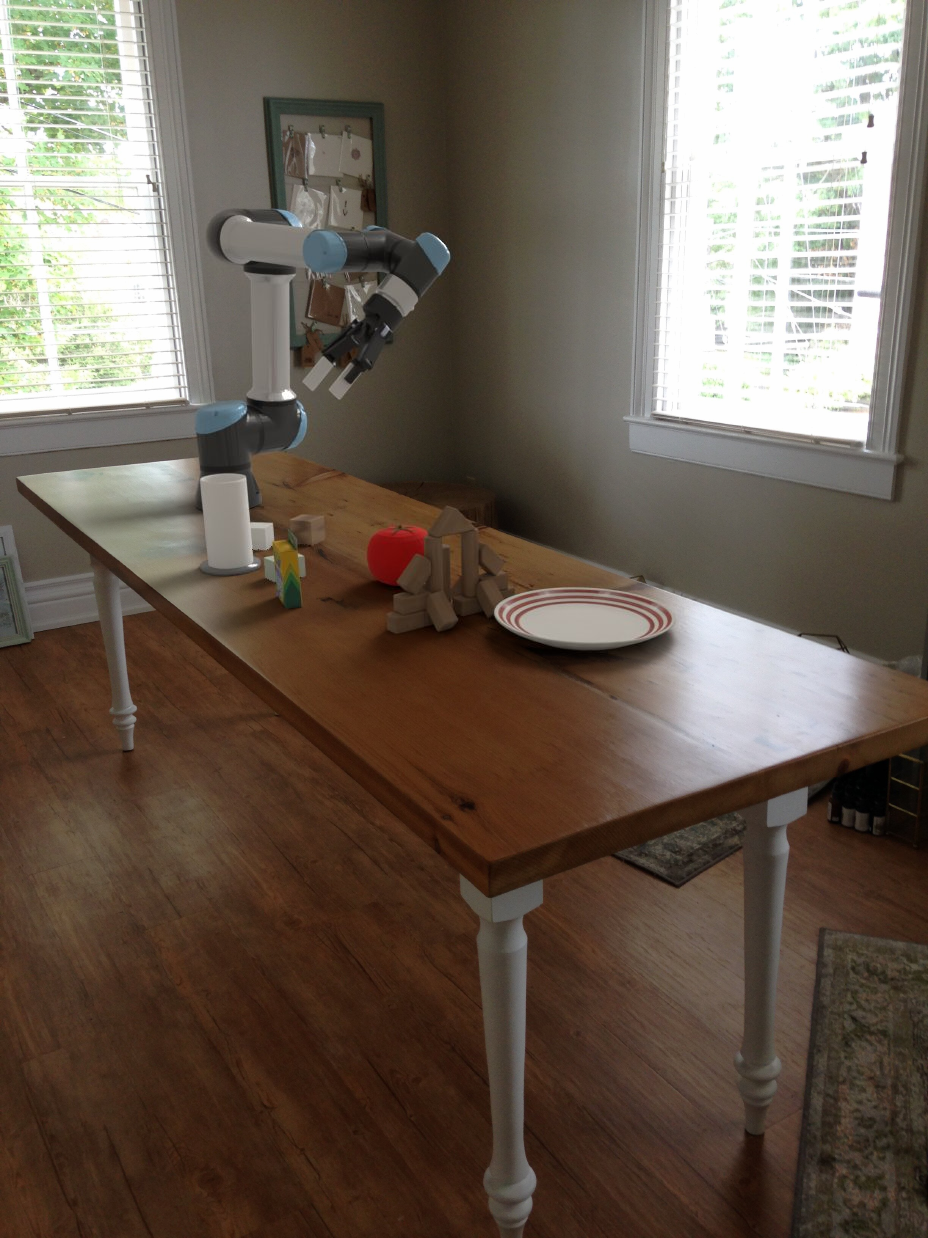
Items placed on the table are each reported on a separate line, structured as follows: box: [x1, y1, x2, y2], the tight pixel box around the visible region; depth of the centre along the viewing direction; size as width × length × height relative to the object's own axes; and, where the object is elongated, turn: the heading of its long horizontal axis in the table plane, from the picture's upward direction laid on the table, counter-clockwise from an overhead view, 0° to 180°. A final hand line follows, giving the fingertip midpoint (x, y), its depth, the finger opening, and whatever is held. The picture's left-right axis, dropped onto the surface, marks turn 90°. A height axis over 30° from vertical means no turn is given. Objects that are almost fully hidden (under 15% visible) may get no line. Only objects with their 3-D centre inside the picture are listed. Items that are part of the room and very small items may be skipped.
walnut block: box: [289, 513, 326, 547], centre depth 210 cm, size 5×5×5 cm
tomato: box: [366, 524, 428, 587], centre depth 182 cm, size 12×12×10 cm
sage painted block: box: [263, 553, 307, 583], centre depth 187 cm, size 4×6×4 cm, turn 129°
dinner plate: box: [494, 586, 677, 651], centre depth 159 cm, size 28×27×3 cm
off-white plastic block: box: [250, 521, 275, 551], centre depth 207 cm, size 4×4×4 cm
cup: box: [200, 474, 254, 569], centre depth 191 cm, size 8×8×16 cm
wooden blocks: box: [386, 505, 516, 635], centre depth 164 cm, size 25×12×18 cm, turn 127°
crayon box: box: [272, 528, 303, 610], centre depth 172 cm, size 7×3×12 cm, turn 21°
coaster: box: [199, 555, 262, 577], centre depth 194 cm, size 11×11×1 cm
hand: (320, 390), depth 198 cm, fingers open, 13 cm apart
